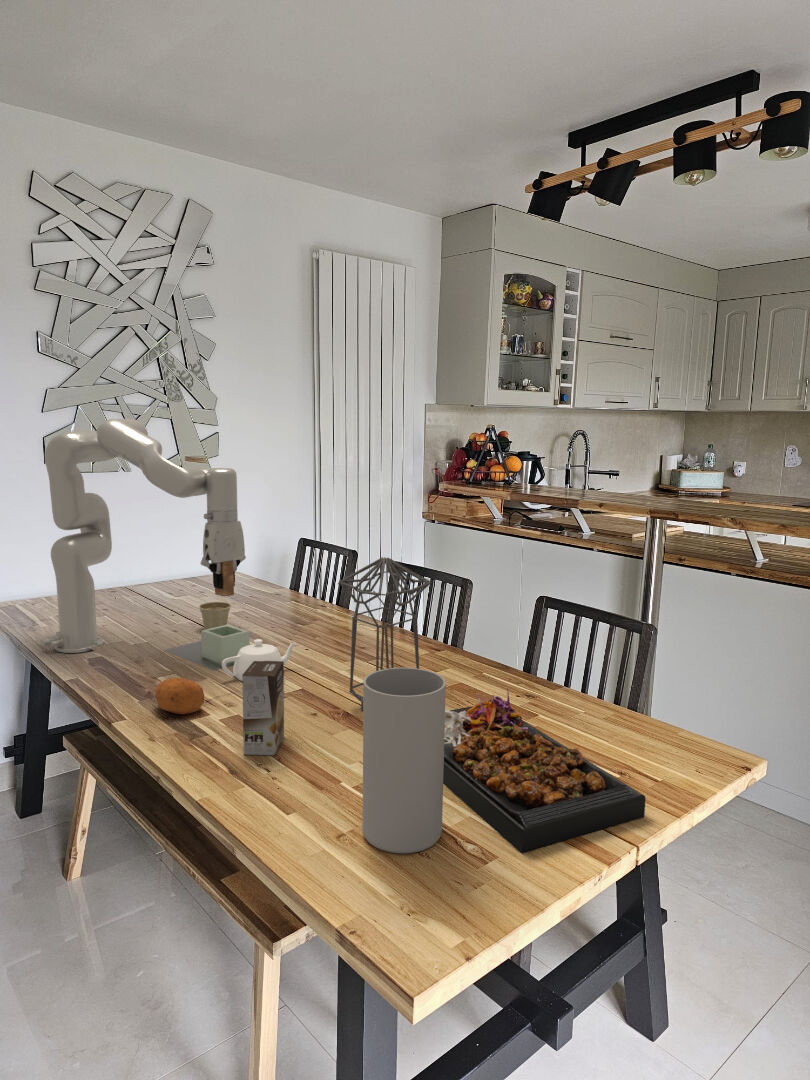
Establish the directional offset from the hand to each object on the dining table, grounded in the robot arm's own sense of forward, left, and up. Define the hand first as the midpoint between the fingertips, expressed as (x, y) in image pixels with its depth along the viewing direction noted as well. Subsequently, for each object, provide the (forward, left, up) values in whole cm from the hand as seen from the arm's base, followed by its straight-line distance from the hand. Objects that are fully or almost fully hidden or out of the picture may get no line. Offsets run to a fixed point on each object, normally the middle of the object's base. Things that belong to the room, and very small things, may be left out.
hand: (224, 586), depth 192 cm
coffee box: (-24, -47, -21) cm, 57 cm away
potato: (-26, -19, -21) cm, 38 cm away
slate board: (0, +7, -21) cm, 22 cm away
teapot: (-1, -16, -21) cm, 26 cm away
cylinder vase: (-29, -88, -21) cm, 95 cm away
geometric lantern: (+5, -52, -21) cm, 56 cm away
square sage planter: (0, 0, -20) cm, 20 cm away
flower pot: (+14, +25, -21) cm, 36 cm away
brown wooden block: (0, 0, -2) cm, 2 cm away
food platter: (-1, -89, -22) cm, 91 cm away
